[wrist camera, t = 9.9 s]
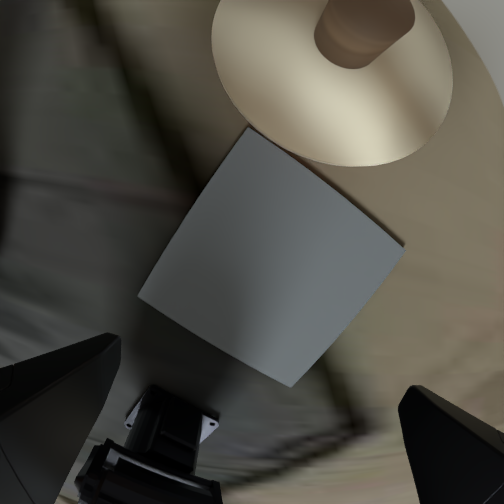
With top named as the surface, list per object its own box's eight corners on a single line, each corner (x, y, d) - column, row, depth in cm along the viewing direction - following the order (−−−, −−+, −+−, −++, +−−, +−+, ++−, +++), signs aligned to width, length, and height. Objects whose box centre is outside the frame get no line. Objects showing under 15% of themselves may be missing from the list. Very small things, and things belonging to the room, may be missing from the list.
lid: (371, 217, 14) (424, 239, 9) (163, 74, 12) (125, 33, 7) (469, 58, 12) (523, 37, 7) (300, -64, 10) (313, -117, 5)
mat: (289, 384, 22) (290, 387, 22) (139, 293, 20) (137, 296, 20) (403, 249, 20) (405, 250, 19) (248, 127, 18) (248, 126, 17)
